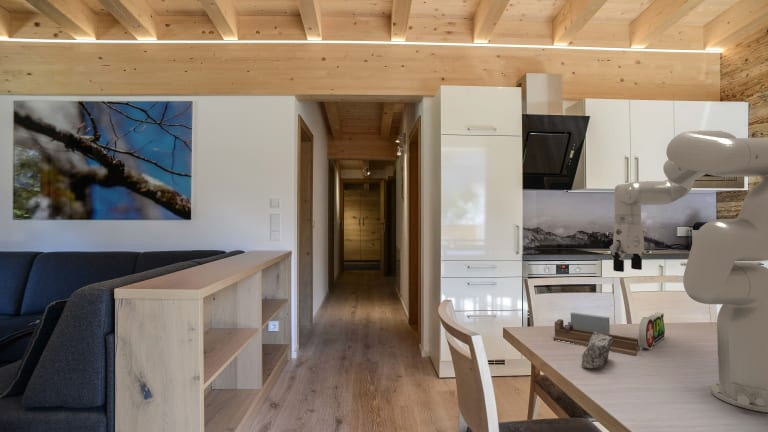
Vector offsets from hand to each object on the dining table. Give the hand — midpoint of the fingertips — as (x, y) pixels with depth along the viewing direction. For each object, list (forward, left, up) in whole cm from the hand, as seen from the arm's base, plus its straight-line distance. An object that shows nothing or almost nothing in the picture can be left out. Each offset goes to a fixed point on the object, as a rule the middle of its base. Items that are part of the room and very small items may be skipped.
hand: (627, 270), depth 122 cm
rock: (-27, +5, -26) cm, 37 cm away
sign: (+6, -6, -26) cm, 27 cm away
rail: (-7, +9, -25) cm, 28 cm away
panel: (+1, +12, -25) cm, 28 cm away
